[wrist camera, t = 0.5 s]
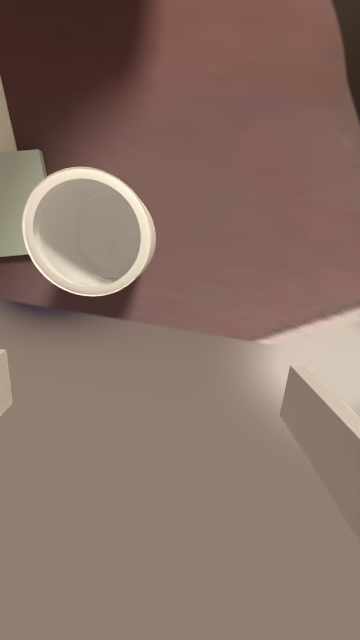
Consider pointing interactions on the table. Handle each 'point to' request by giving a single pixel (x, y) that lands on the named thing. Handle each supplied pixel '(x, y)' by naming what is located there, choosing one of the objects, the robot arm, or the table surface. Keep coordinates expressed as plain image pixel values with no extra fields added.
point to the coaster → (17, 195)
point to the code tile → (5, 125)
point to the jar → (88, 231)
